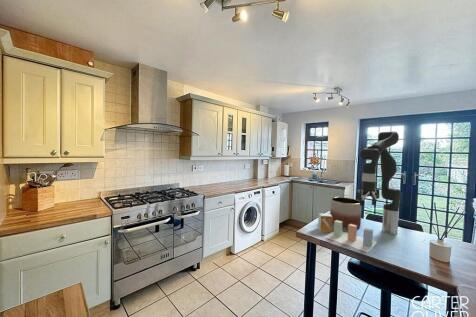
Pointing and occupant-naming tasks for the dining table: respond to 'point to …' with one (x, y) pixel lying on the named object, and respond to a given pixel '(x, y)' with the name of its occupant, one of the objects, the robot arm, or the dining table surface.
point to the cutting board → (356, 244)
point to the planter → (346, 211)
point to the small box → (325, 222)
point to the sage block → (338, 228)
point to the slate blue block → (367, 237)
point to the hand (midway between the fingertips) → (367, 205)
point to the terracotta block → (352, 232)
